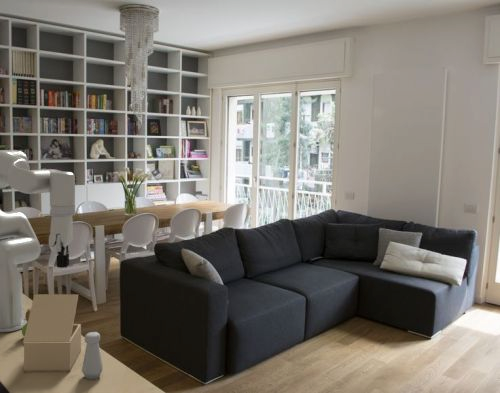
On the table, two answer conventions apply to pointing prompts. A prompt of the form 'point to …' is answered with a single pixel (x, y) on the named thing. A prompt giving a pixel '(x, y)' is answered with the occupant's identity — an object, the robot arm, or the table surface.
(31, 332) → the flap
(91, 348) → the salt shaker
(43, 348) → the carton
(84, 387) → the table surface
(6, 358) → the table surface
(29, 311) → the snail figurine
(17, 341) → the table surface
